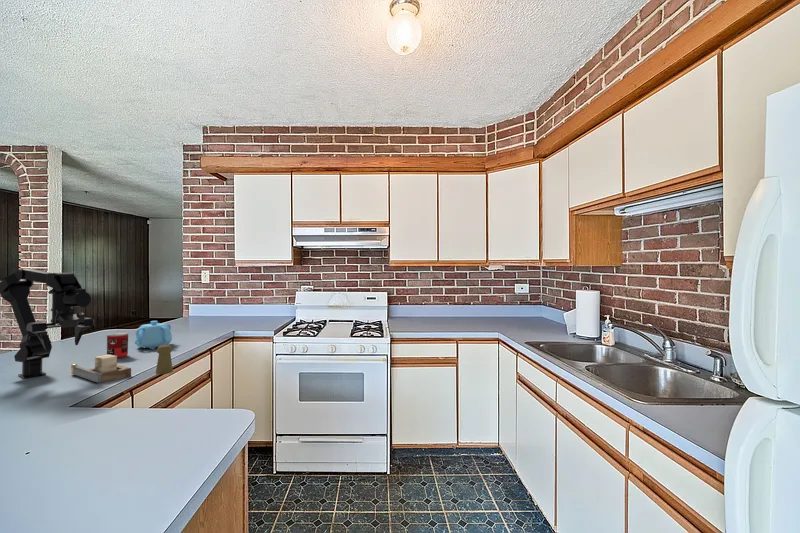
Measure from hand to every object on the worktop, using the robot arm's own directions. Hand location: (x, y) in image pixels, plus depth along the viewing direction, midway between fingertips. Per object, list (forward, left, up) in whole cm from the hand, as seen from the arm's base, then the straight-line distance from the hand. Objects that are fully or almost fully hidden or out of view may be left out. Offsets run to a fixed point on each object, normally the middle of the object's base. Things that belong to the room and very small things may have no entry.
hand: (61, 347), depth 147 cm
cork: (+22, +26, -12) cm, 36 cm away
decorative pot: (-29, +49, -12) cm, 58 cm away
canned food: (-20, +28, -12) cm, 37 cm away
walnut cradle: (+11, +10, -12) cm, 19 cm away
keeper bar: (+7, +5, -11) cm, 15 cm away
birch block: (+11, +10, -12) cm, 19 cm away
